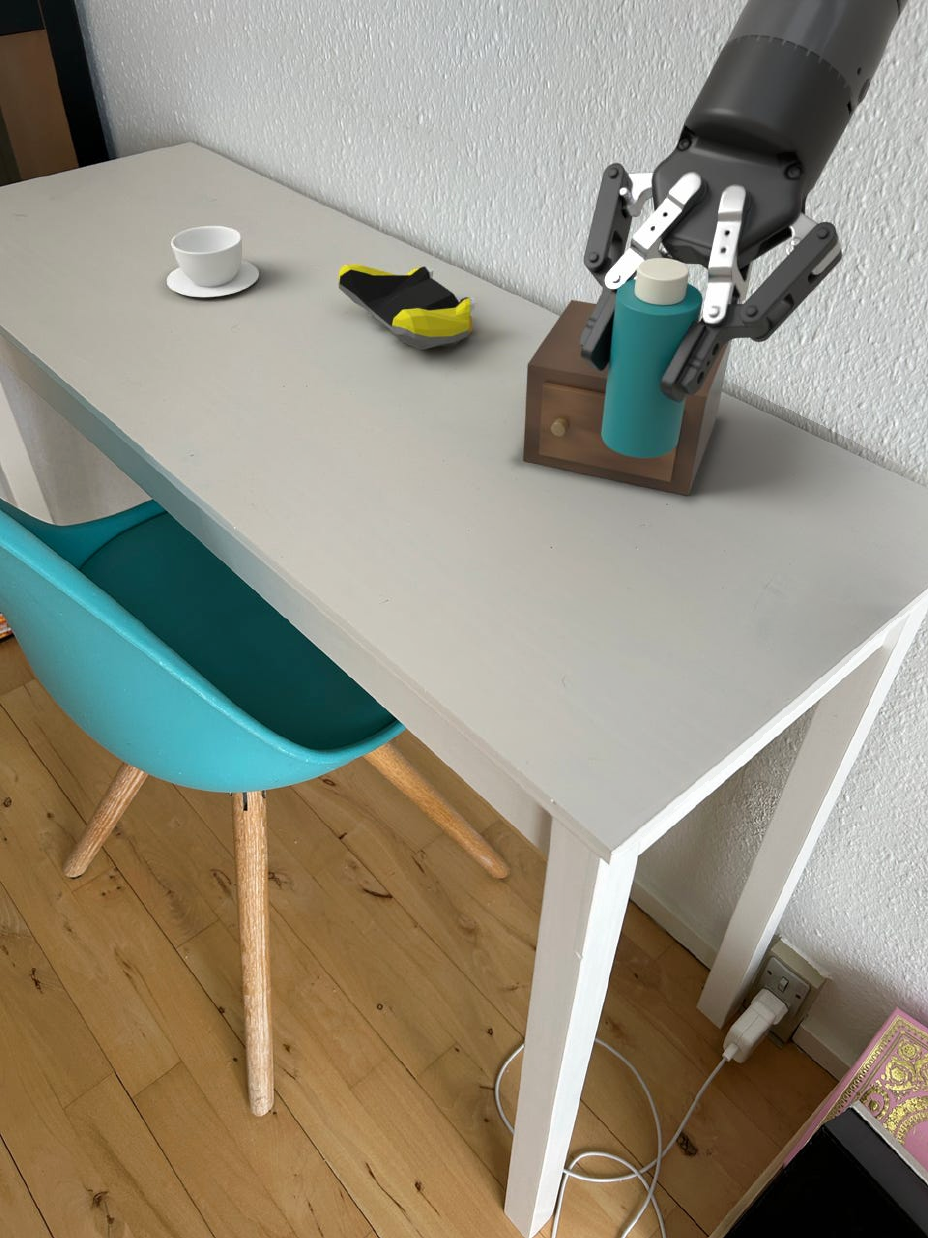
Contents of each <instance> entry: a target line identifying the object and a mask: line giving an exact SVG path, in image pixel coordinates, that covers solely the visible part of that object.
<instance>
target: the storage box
mask: <svg viewBox="0 0 928 1238" xmlns="http://www.w3.org/2000/svg"><path fill="white" fill-rule="evenodd" d="M596 304H597V303H593V302H586V301H582V300H581V301H580V300H575V299H571V300H570V302H569V303H568V304H567V306H566V307H565V308H564V310H563V311H562V313H561V315H559V318H558V319H557V320H556V322H555V323H554V325H553V326H552V328H551V329H550V330H549V332H548V333H547V335H546V336H545V338H544V339H543V341H542V342H541V344H540V345H539V347H538V348H537V349H536V351H535V353H534V354H533V355H532V357H531V358H530V359H529V361H528V363H527V365H526V366H527V367H526V368H527V369H526V373H527V374H526V386H525V387H526V390H525V391H526V392H525V408H524V409H525V413H524V431H523V432H524V434H523V455H522V461H523V462H528V463H532V464H537V465H542V466H546V467H550V468H556V469H559V470H565V471H569V472H574V473H579V474H583V475H589V476H593V477H598V478H603V479H607V480H610V481H611V480H612V481H616V482H620V483H621V482H622V483H626V484H630V485H635V486H639V487H645V488H649V489H653V490H659V491H663V492H668V493H672V494H676V495H677V494H678V495H681V496H686V497H687V496H689V495H690V492H691V490H692V487H693V483H694V481H695V479H696V476H697V473H698V471H699V467H700V466H701V462H702V459H703V457H704V454H705V451H706V449H707V446H708V443H709V441H710V437H711V435H712V433H713V429H714V427H715V424H716V421H717V415H718V411H719V406H720V403H721V398H722V397H721V396H722V391H723V386H724V382H725V377H726V372H727V366H728V362H729V358H730V352H731V346H732V341H733V339H732V340H730V341H728V342H727V343H726V344H725V345H724V346H723V348H722V350H721V351H720V353H719V355H718V357H717V359H716V361H715V363H714V364H713V366H712V368H711V370H710V371H709V374H708V376H707V377H706V379H705V381H704V383H703V385H702V387H701V389H700V390H698V391H697V392H696V393H695V394H694V395H693V396H692V395H689V394H687V395H686V399H685V405H684V411H683V416H682V422H681V428H680V434H679V439H678V443H677V445H676V447H675V448H674V449H673V450H672V451H670V452H669V453H667V454H665V455H662V456H658V457H652V458H636V457H630V456H626V455H623V454H620V453H618V452H616V451H614V450H612V449H611V448H609V447H608V446H607V445H606V444H605V443H604V441H603V439H602V435H601V432H602V422H603V413H604V404H605V395H606V386H607V377H608V368H609V363H608V365H607V366H606V368H605V369H604V370H603V371H600V370H597V369H595V368H592V367H590V366H589V365H588V364H587V363H586V362H585V361H584V360H583V359H582V358H581V350H582V347H581V346H580V345H579V340H580V334H581V333H582V331H583V329H584V327H585V326H586V323H587V321H588V319H589V317H590V315H591V313H592V311H593V310H594V308H595V306H596ZM699 322H700V320H699Z"/></svg>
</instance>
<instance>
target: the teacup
mask: <svg viewBox="0 0 928 1238" xmlns="http://www.w3.org/2000/svg"><path fill="white" fill-rule="evenodd" d="M242 241H243V238H242V234H241V233H240V231H238V230H236V229H235V228H231V227H228V226H224V225H223V226H222V225H203V226H196V227H192V228H188V229H185V230H182V231H180V232H178V233H177V234H175V235H174V237H173V238H172V239H171V242H170V244H171V249H172V251H173V254H174V257H175V260H176V262H177V265H178V267H176V268H175V269H174V270H172V272H170V273H169V274H168V276H167V278H166V284H167V287H168V288H169V289H170V290H171V291H173V292H175V293H178V294H180V295H183V296H188V297H194V298H214V297H223V296H226V295H227V296H228V295H231V294H232V295H233V294H236V293H238V292H241V291H243V290H246V289H247V288H249V287H250V286H253V284H254V283H256V282H257V280H258V278H259V277H260V272H259V269H258V268H257V267H256V266H255V265H254V264H252V263H250V262H249V261H246V260H243V242H242Z"/></svg>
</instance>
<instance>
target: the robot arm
mask: <svg viewBox="0 0 928 1238" xmlns="http://www.w3.org/2000/svg"><path fill="white" fill-rule="evenodd" d="M909 1H910V0H747V2H746V3H745V5H744V7H743V9H742V11H741V12H740V15H739V16H738V19H737V20H736V22H735V24H734V26H733V28H732V30H731V31H730V34H729V36H728V37H727V40H726V41H725V43H724V45H723V47H722V49H721V51H720V53H719V55H718V56H717V58H716V60H715V62H714V65H713V67H712V68H711V71H710V72H709V74H708V76H707V77H706V79H705V80H706V81H705V82H704V84H703V86H702V87H701V90H700V91H699V94H698V95H697V97H696V99H695V101H694V103H693V105H692V107H691V108H690V111H689V113H688V114H687V116H686V118H685V120H684V123H683V126H682V129H681V132H680V135H679V137H678V141H677V144H676V146H675V148H674V149H673V150H672V152H671V153H670V154H669V155H668V156H667V157H666V158H665V159H663V160H662V161H661V162H659V164H658V165H657V166H655V169H654V170H653V171H639V172H638V171H637V172H627V170H626V169H625V167H624V165H623V164H622V163H619V162H614V163H613V162H612V163H610V164H609V165H608V166H607V167H606V168H605V169H604V170H603V174H602V178H601V182H600V186H599V191H598V195H597V200H596V203H595V207H594V212H593V216H592V220H591V225H590V229H589V233H588V237H587V242H586V246H585V250H584V254H583V259H582V262H583V265H584V266H585V267H586V269H587V270H588V272H590V274H591V275H592V276H593V278H594V279H595V280H596V282H597V283H598V285H600V286H601V288H602V289H601V294H600V296H599V297H598V300H597V302H596V303H595V304H596V306H595V308H594V310H593V311H592V313H591V315H590V317H589V319H588V321H587V323H586V326H585V327H584V329H583V331H582V333H581V334H580V340H579V345H580V346H581V347H582V350H581V358H582V359H583V360H584V361H585V362H586V363H587V364H588V365H589V366H590V367H592V368H595V369H597V370H600V371H603V370H604V369H605V368H606V366H607V365H608V363H609V359H610V349H611V340H612V331H613V322H614V313H615V304H616V295H617V290H618V288H619V287H620V286H621V285H622V284H624V283H625V282H627V281H630V280H633V279H636V275H637V267H638V265H639V264H640V263H641V262H643V261H645V260H648V259H653V258H667V259H673V260H676V261H679V262H682V263H683V264H685V265H701V266H702V267H703V268H705V269H706V270H707V277H708V279H707V280H708V281H707V287H706V290H705V296H704V301H703V304H702V309H701V317H700V319H699V321H700V322H699V323H698V322H695V321H693V322H692V324H691V325H690V327H689V329H688V331H687V333H686V335H685V337H684V338H683V340H682V342H681V344H680V346H679V348H678V350H677V352H676V354H675V355H674V357H673V359H672V361H671V363H670V365H669V367H668V369H667V370H666V372H665V374H664V376H663V378H662V380H661V383H660V390H661V391H662V392H663V393H664V395H665V396H666V397H667V398H668V399H671V400H673V401H676V402H678V403H681V402H682V401H683V400H684V399H685V397H686V395H687V394H689V395H692V396H693V395H694V394H695V393H696V392H697V391H698V390H700V389H701V387H702V385H703V383H704V381H705V379H706V377H707V376H708V374H709V371H710V370H711V368H712V366H713V364H714V363H715V361H716V359H717V357H718V355H719V353H720V351H721V350H722V348H723V346H724V345H725V344H726V343H727V342H728V341H730V340H732V341H733V340H735V339H751V340H752V341H753V342H756V343H763V342H765V341H767V340H769V339H770V337H771V336H772V335H773V334H774V333H775V332H776V331H778V329H779V328H780V327H781V326H782V325H783V324H784V323H785V321H786V320H787V319H789V317H790V316H791V315H792V314H793V313H794V312H795V311H796V310H797V309H798V308H799V307H800V305H801V304H802V303H803V302H804V301H805V300H806V299H807V297H809V295H811V293H813V292H814V291H815V289H816V288H817V287H818V286H819V285H820V284H821V283H822V282H823V281H824V279H826V277H827V276H828V275H829V274H830V273H831V272H832V271H833V270H834V269H835V267H837V265H838V264H839V263H840V262H841V260H842V258H843V252H842V246H841V241H840V237H839V234H838V232H837V229H836V226H835V225H834V223H832V222H830V221H821V222H819V223H818V222H817V221H815V220H814V219H813V218H811V217H809V216H808V215H807V214H806V203H807V199H808V196H809V194H810V193H811V192H812V190H813V189H814V188H815V186H816V184H817V183H818V180H819V178H820V177H821V175H822V173H823V171H824V169H825V167H826V165H827V164H828V163H829V162H828V161H829V160H830V158H831V156H832V155H833V153H834V151H835V149H836V147H837V145H838V144H839V141H840V139H841V137H842V136H843V134H844V132H845V131H846V129H847V127H848V124H849V123H850V121H851V119H852V117H853V116H854V114H855V111H856V110H857V108H858V107H859V106H860V104H862V102H863V101H864V100H865V98H866V96H867V94H868V92H869V89H870V87H871V82H872V81H873V79H874V76H875V74H876V72H877V71H878V68H879V66H880V63H881V61H882V59H883V56H884V54H885V52H886V49H887V46H888V43H889V41H890V38H891V36H892V33H893V31H894V29H895V27H896V25H897V23H898V21H899V19H900V17H901V15H902V14H903V12H904V10H905V8H906V7H907V5H908V2H909ZM649 199H652V203H653V213H652V214H651V215H650V217H648V218H647V220H646V221H645V222H644V223H643V224H642V225H641V227H640V228H638V230H637V231H636V232H635V233H634V234H633V236H632V238H631V239H630V245H629V248H628V249H627V250H626V247H627V243H628V239H629V235H630V230H631V226H632V221H633V217H634V218H638V217H640V215H641V214H642V211H643V207H644V206H645V204H646V203H647V201H648V200H649ZM789 239H790V240H789ZM787 240H789V242H788V243H787V245H786V246H785V254H786V256H785V258H784V259H783V260H782V261H781V262H780V263H779V264H778V265H777V267H776V268H775V269H774V270H773V271H772V272H771V273H770V274H769V276H767V278H766V279H765V280H764V281H763V282H762V283H761V284H760V286H759V287H757V288H756V289H755V291H754V292H753V293H752V294H751V295H750V296H749V297H748V298H747V294H748V290H749V285H750V281H751V275H752V271H753V266H754V261H756V260H757V259H759V258H760V257H762V256H764V255H766V253H769V252H770V251H771V250H773V249H774V248H776V247H778V246H780V245H782V243H784V242H786V241H787ZM661 245H662V247H661V248H660V246H661ZM746 298H747V300H746ZM745 300H746V301H745ZM744 301H745V302H744ZM743 302H744V303H743Z"/></svg>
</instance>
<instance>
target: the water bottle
mask: <svg viewBox="0 0 928 1238" xmlns="http://www.w3.org/2000/svg"><path fill="white" fill-rule="evenodd" d="M689 276H690V269H689V267H688V266H687V264H684V263H682V262H679V261H676V260H673V259H667V258H653V259H648V260H645V261H643V262H641V263H640V264H639V265H638V267H637V275H636V279H633V280H630V281H627V282H625V283H624V284H622V285H621V286H620V287H619V288H618V290H617V295H616V304H615V313H614V322H613V331H612V340H611V349H610V359H609V368H608V377H607V386H606V395H605V404H604V413H603V422H602V432H601V435H602V439H603V441H604V443H605V444H606V445H607V446H608V447H609V448H611V449H612V450H614V451H616V452H618V453H620V454H623V455H626V456H630V457H636V458H652V457H658V456H662V455H665V454H667V453H669V452H670V451H672V450H673V449H674V448H675V447H676V445H677V443H678V439H679V434H680V428H681V422H682V416H683V411H684V405H685V399H686V397H685V399H684V400H683V401H682V402H681V403H678V402H676V401H673V400H671V399H668V398H667V397H666V396H665V395H664V393H663V392H662V391H661V390H660V383H661V380H662V378H663V376H664V374H665V372H666V370H667V369H668V367H669V365H670V363H671V361H672V359H673V357H674V355H675V354H676V352H677V350H678V348H679V346H680V344H681V342H682V340H683V338H684V337H685V335H686V333H687V331H688V329H689V327H690V325H691V324H692V322H693V321H695V322H698V323H699V321H700V320H701V314H702V309H703V303H704V301H703V300H704V298H703V293H701V291H700V290H699V289H698V288H697V287H696V286H694V285H692V284H691V283H689Z"/></svg>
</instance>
